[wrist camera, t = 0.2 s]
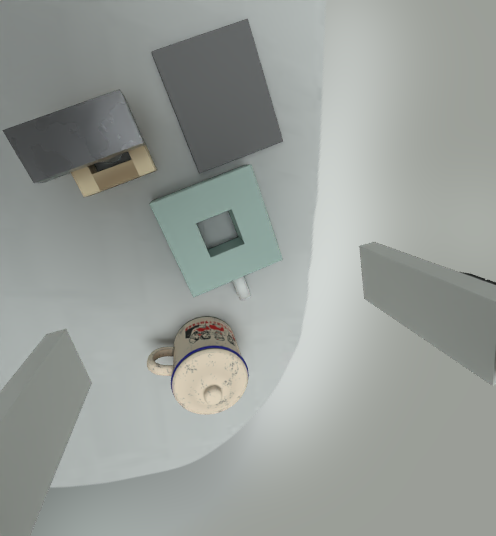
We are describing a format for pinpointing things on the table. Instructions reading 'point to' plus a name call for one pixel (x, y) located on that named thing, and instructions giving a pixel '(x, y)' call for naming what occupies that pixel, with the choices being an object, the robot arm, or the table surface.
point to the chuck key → (76, 137)
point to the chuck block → (227, 254)
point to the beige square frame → (114, 173)
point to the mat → (219, 95)
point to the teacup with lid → (204, 366)
